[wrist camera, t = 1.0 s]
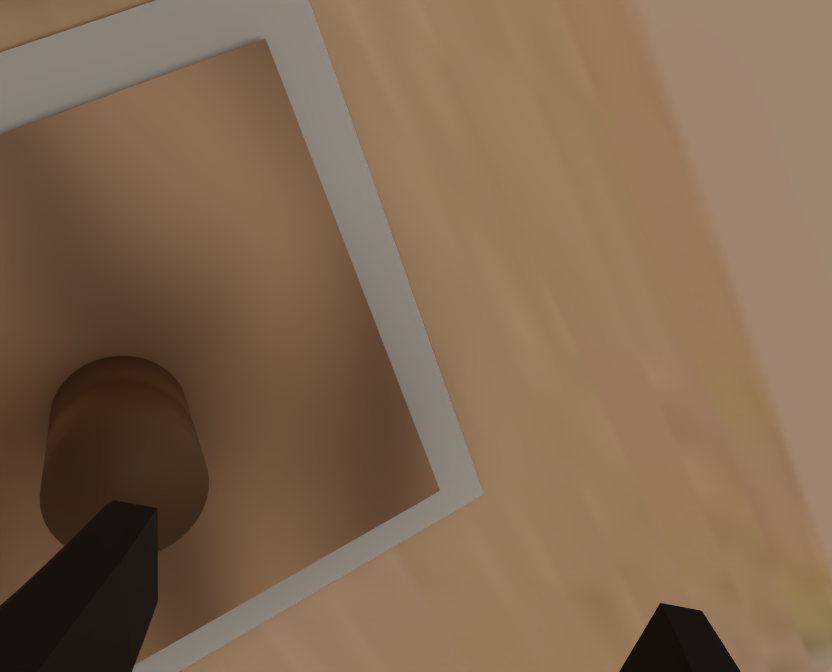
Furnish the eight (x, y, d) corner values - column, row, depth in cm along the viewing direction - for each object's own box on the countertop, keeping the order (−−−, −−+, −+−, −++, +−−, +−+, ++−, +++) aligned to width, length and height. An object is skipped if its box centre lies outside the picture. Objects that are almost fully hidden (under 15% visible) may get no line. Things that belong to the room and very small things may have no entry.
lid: (-2, 727, 20) (-26, 887, 16) (-404, 280, 14) (-605, 355, 10) (432, 481, 23) (503, 562, 19) (260, 40, 17) (311, 22, 13)
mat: (-24, 778, 20) (-27, 790, 20) (-548, 238, 13) (-566, 242, 13) (478, 488, 25) (483, 494, 24) (288, -44, 17) (292, -46, 17)
